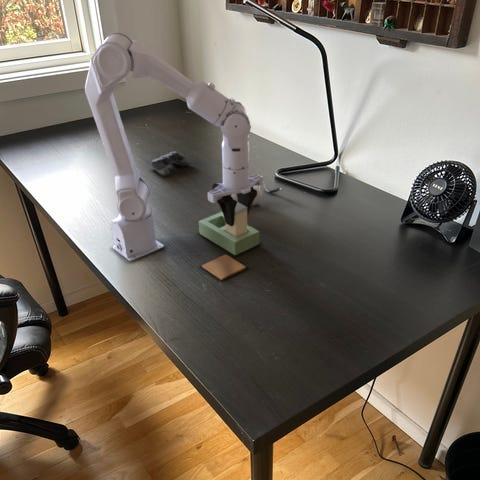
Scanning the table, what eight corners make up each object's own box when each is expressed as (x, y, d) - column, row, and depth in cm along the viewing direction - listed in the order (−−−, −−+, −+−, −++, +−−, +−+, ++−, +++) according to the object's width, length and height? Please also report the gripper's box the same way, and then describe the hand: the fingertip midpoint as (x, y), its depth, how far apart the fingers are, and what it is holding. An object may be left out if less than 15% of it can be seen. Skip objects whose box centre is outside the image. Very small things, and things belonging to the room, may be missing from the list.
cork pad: (221, 280, 106) (221, 278, 106) (202, 267, 110) (201, 265, 110) (245, 268, 110) (245, 266, 110) (225, 256, 114) (225, 254, 114)
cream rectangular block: (235, 242, 115) (235, 211, 110) (226, 237, 117) (225, 206, 112) (247, 237, 117) (247, 206, 112) (237, 232, 119) (237, 201, 114)
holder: (235, 255, 114) (234, 242, 112) (199, 233, 122) (198, 221, 120) (259, 244, 118) (259, 231, 116) (222, 223, 126) (222, 211, 124)
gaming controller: (166, 177, 147) (161, 160, 145) (149, 176, 152) (144, 160, 149) (192, 164, 155) (188, 148, 152) (176, 164, 159) (171, 148, 157)
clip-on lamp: (261, 194, 145) (208, 196, 136) (264, 172, 142) (210, 172, 133) (284, 206, 137) (230, 208, 127) (289, 183, 134) (233, 184, 124)
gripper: (221, 180, 100) (223, 238, 108) (272, 161, 107) (270, 217, 116) (200, 169, 104) (203, 226, 112) (251, 152, 111) (250, 207, 120)
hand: (236, 221), depth 114 cm, fingers closed on cream rectangular block, 3 cm apart
